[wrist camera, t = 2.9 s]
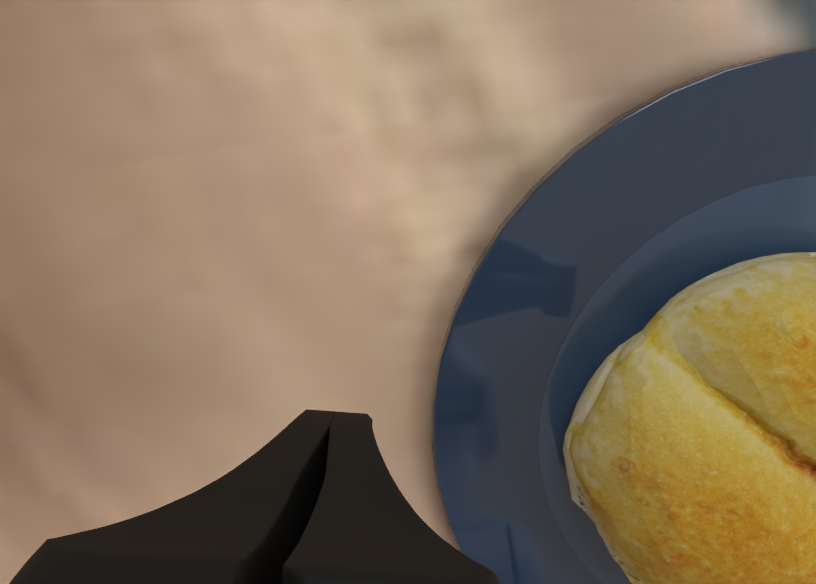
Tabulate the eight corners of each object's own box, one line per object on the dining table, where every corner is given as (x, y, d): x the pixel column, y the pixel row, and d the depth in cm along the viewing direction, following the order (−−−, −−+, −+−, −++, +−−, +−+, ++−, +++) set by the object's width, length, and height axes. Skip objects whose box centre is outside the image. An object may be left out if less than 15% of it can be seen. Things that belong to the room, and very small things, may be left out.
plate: (1024, 721, 20) (1039, 738, 19) (408, 674, 20) (408, 690, 19) (1300, 77, 14) (1332, 77, 14) (465, 17, 14) (467, 15, 14)
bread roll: (1028, 417, 16) (1212, 524, 12) (705, 629, 18) (778, 777, 14) (826, 149, 15) (968, 178, 11) (494, 415, 17) (514, 519, 13)
